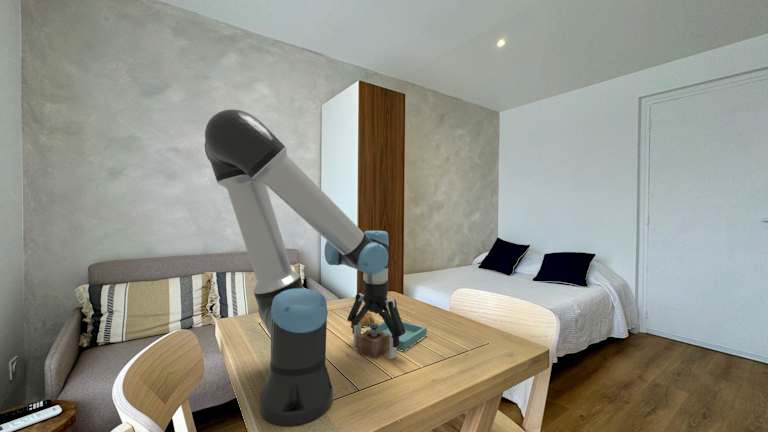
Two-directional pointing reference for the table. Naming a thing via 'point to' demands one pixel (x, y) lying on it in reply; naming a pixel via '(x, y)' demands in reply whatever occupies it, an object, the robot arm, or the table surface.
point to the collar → (373, 344)
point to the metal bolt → (374, 329)
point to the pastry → (366, 320)
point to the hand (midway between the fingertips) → (374, 351)
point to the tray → (409, 337)
